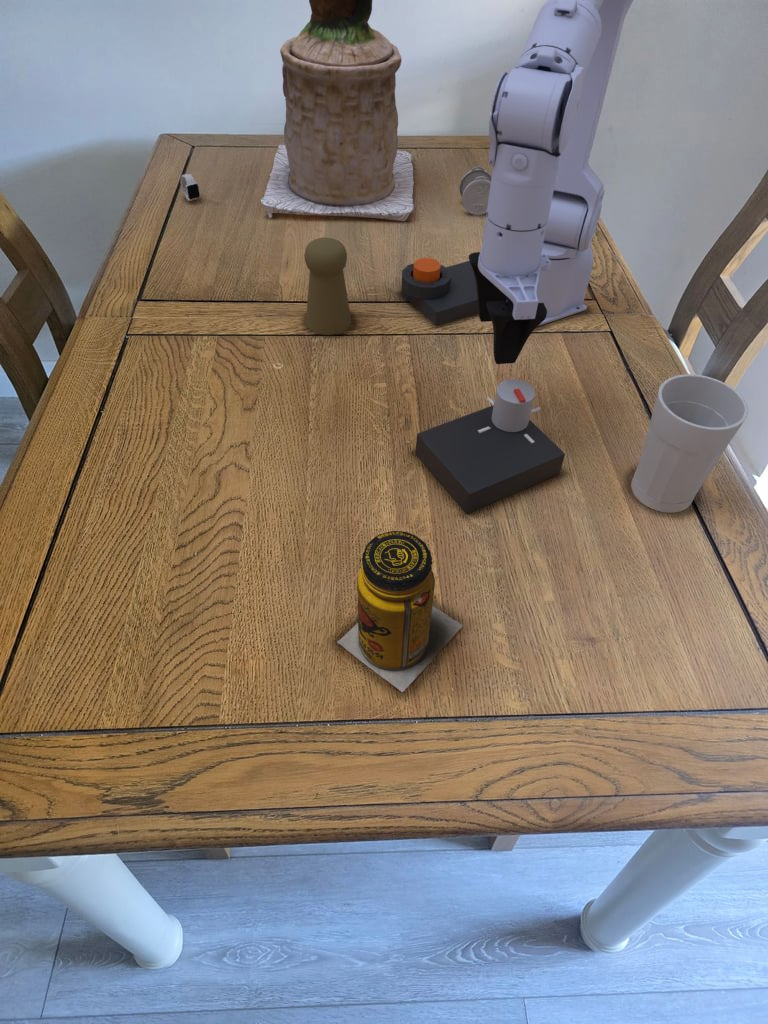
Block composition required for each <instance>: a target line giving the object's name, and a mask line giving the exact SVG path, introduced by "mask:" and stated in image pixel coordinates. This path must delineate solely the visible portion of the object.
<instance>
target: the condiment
mask: <svg viewBox="0 0 768 1024" xmlns="http://www.w3.org/2000/svg"><path fill="white" fill-rule="evenodd" d="M361 562H362V563H361V566H360V568H359V572H358V575H357V584H356V585H357V586H356V591H357V607H356V608H357V623H355V625H353V627H352V628H351V629H350V630H349V631H348V632H346V633H345V634H344V635H343V636H342V637H341V638H340V639H339V640H337V644H338V645H340V646H341V647H342V648H344V649H345V650H346V651H347V652H349V653H350V654H351V655H352V656H354V658H356V659H357V660H358V661H360V662H361V663H363V664H364V665H365V666H366V667H367V668H369V669H370V670H372V671H373V672H374V673H376V674H377V675H378V676H379V677H380V678H382V679H384V680H385V681H386V682H388V683H389V684H391V686H393V687H395V688H396V689H397V690H399V691H400V692H401V693H404V692H405V691H406V690H407V688H409V686H410V685H411V684H412V683H414V681H415V680H416V679H417V678H418V677H419V675H420V674H421V673H422V672H423V671H424V670H425V669H426V668H427V667H428V666H429V664H430V663H431V662H432V661H433V660H434V659H435V658H436V657H437V655H438V654H439V653H440V652H441V651H442V650H443V648H444V647H446V645H447V644H448V643H449V642H450V641H451V640H452V639H453V637H454V636H455V635H456V634H457V633H458V632H459V631H460V630H461V629H462V627H463V626H464V625H463V624H462V623H461V622H459V621H457V620H455V619H454V618H452V617H450V616H449V615H448V614H446V613H444V612H443V611H441V610H440V609H438V608H436V607H435V606H434V605H433V603H434V595H435V587H436V579H435V574H434V571H433V567H432V565H433V556H432V552H431V550H430V549H429V547H428V545H427V543H426V542H425V541H423V540H422V539H421V538H420V537H418V536H417V535H415V534H414V533H411V532H408V531H403V530H402V531H401V530H390V531H386V532H383V533H379V534H377V535H375V536H374V537H373V538H372V539H370V541H368V542H367V544H366V545H365V548H364V551H363V552H362V558H361Z"/></svg>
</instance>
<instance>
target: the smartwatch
mask: <svg viewBox="0 0 768 1024" xmlns="http://www.w3.org/2000/svg"><path fill="white" fill-rule="evenodd" d="M179 180H180V187H181V190H182V191H183V193H184V196H185V197H186V199H187V200H188V202H194V201H197V200H198V199H199V198H200V196H201V192H200V185H199V184H198V182H197V181H196V180H195V179H194V177H193V175H192V174H191V173H185V174H182V175H180V178H179Z"/></svg>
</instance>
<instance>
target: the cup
mask: <svg viewBox="0 0 768 1024" xmlns="http://www.w3.org/2000/svg"><path fill="white" fill-rule="evenodd" d="M748 414H749V407H748V403H747V402H746V400H745V399H744V397H743V396H742V395H741V393H739V391H737V390H736V389H735V388H734V387H732V386H731V385H729V384H727V383H725V382H723V381H721V380H719V379H716V378H713V377H711V376H706V375H702V374H693V373H692V374H691V373H688V374H687V373H685V374H679V375H674V376H671V377H669V378H667V379H666V380H663V382H662V383H661V384H660V386H659V388H658V391H657V395H656V398H655V402H654V406H653V409H652V413H651V417H650V422H649V426H648V430H647V433H646V436H645V440H644V443H643V446H642V450H641V453H640V457H639V460H638V463H637V466H636V469H635V472H634V475H633V477H632V479H631V483H630V487H631V491H632V493H633V495H634V497H635V498H636V499H637V500H638V501H639V502H640V503H641V504H643V505H644V506H646V507H647V508H649V509H652V510H654V511H657V512H660V513H665V514H667V513H669V514H671V513H672V514H675V513H679V512H682V511H685V510H687V509H688V508H689V507H690V506H691V505H692V503H693V501H694V499H695V497H696V495H697V494H698V492H699V491H700V489H701V488H702V486H703V485H704V483H705V481H706V480H707V478H708V477H709V475H710V474H711V473H712V471H713V469H714V468H715V466H716V465H717V463H718V461H719V460H720V458H721V456H723V454H724V452H725V450H726V449H727V447H728V446H729V445H730V443H731V441H732V440H733V439H734V437H735V435H736V434H737V432H738V431H739V429H740V428H741V427H742V425H743V424H744V423H745V421H746V419H747V417H748Z"/></svg>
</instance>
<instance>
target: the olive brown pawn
mask: <svg viewBox="0 0 768 1024" xmlns="http://www.w3.org/2000/svg"><path fill="white" fill-rule="evenodd" d="M303 257H304V262H305V265H306V267H307V269H308V270H309V277H308V278H309V279H308V290H307V300H306V301H307V303H306V313H305V314H306V315H305V325H306V328H307V329H308V330H310V331H311V332H312V333H313V332H314V333H316V334H319V335H323V336H325V335H327V336H332V335H338V334H340V333H343V332H345V331H347V330H348V329H349V328H350V327H351V325H352V316H351V311H350V304H349V299H348V297H349V296H348V292H347V291H348V290H347V286H346V279H345V273H344V268H345V267H346V266H347V260H348V253H347V249H346V247H345V245H344V244H343V242H341V241H340V240H338V239H336V238H332V237H319V238H318V237H317V238H316V239H313V240H311V241H309V243H308V244H307V245H306V247H305V250H304V255H303Z"/></svg>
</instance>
